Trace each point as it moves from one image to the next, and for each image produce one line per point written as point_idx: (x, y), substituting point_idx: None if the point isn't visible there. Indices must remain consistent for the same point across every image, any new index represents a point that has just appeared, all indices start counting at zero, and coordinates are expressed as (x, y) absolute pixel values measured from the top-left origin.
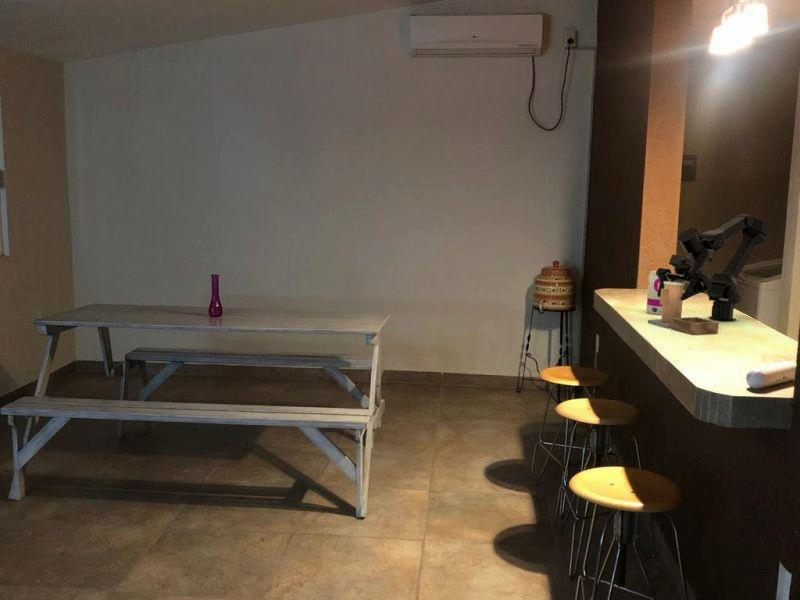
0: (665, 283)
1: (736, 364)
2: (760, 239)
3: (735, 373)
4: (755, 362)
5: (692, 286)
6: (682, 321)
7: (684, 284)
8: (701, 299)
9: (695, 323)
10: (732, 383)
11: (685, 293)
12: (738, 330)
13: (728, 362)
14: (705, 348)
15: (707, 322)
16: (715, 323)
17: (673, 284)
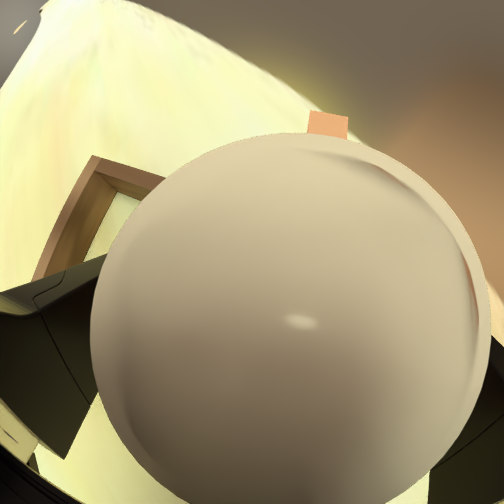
0: (379, 165)
1: (33, 50)
2: None
3: (41, 27)
4: (9, 79)
5: (6, 293)
6: (143, 172)
7: (102, 356)
8: None
9: (85, 166)
10: (50, 8)
11: (104, 256)
12: None
13: (41, 47)
14: (66, 74)
15: (56, 237)
16: (39, 269)
17: (220, 161)
